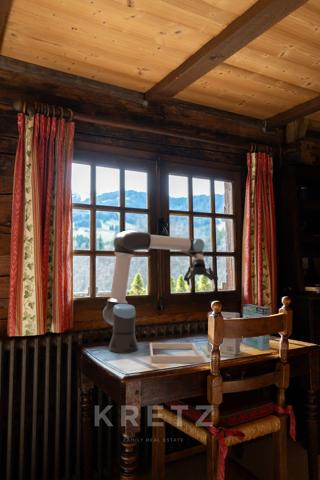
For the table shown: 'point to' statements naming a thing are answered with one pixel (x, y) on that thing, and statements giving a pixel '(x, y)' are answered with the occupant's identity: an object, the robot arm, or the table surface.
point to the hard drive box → (229, 344)
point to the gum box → (256, 311)
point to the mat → (208, 353)
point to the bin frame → (175, 358)
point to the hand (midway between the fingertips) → (202, 289)
